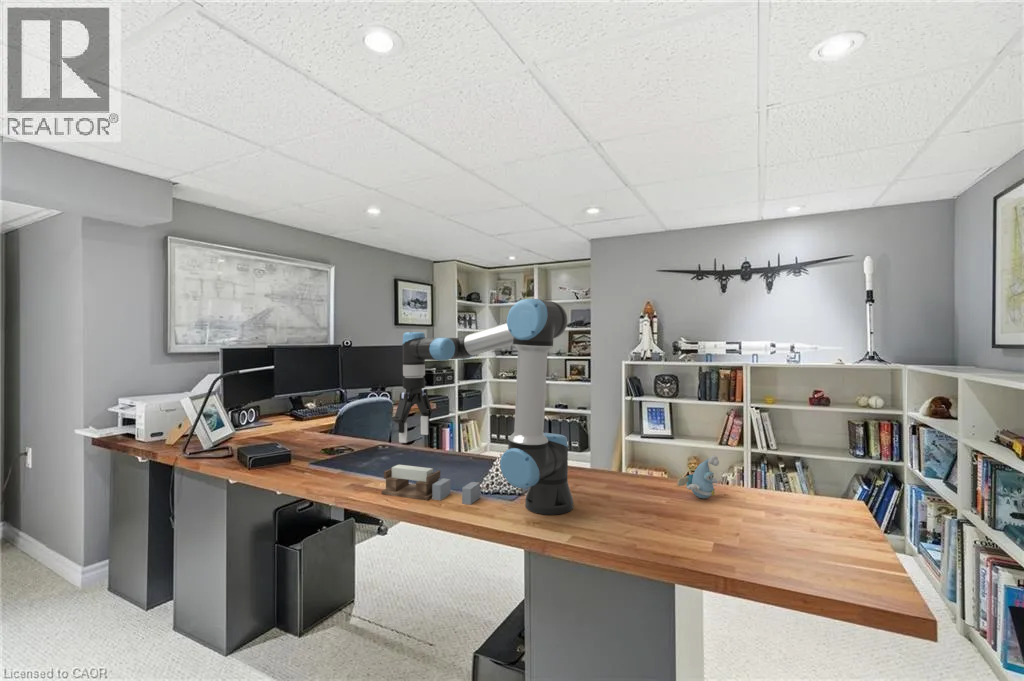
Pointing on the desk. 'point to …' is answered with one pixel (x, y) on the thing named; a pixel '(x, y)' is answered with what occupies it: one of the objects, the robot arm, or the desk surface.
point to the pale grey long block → (411, 472)
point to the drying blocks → (468, 492)
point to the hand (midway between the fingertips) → (414, 438)
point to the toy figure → (701, 479)
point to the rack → (410, 486)
